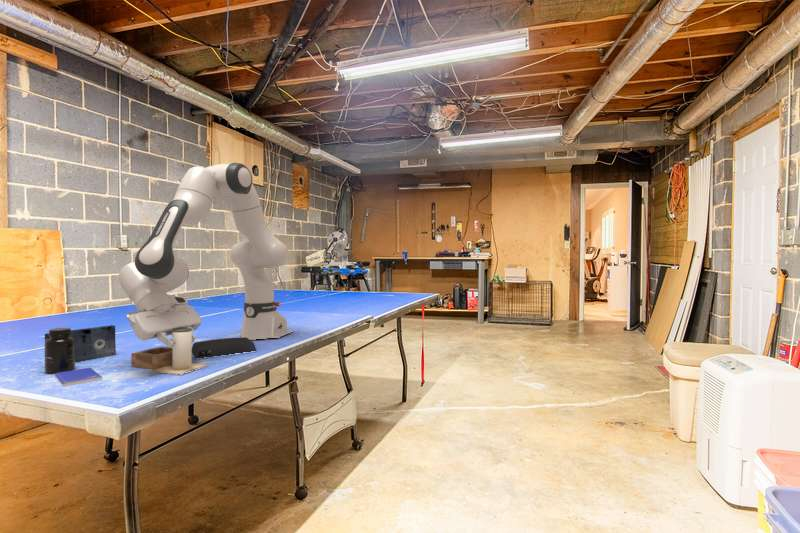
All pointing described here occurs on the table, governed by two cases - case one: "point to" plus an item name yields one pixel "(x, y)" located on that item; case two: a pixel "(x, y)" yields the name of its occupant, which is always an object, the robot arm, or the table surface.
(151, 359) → the block
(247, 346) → the external hard drive
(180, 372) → the pad
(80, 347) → the vhs cassette tape
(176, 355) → the beige cylinder
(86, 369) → the blue book
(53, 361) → the supplement bottle
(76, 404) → the table surface
